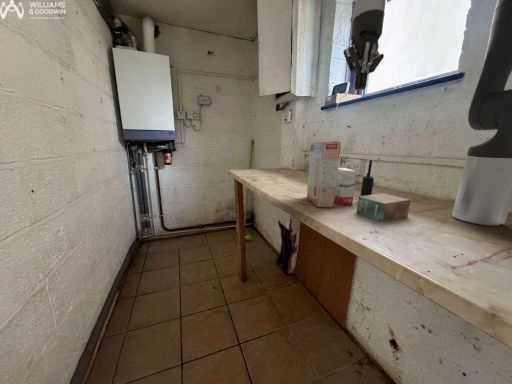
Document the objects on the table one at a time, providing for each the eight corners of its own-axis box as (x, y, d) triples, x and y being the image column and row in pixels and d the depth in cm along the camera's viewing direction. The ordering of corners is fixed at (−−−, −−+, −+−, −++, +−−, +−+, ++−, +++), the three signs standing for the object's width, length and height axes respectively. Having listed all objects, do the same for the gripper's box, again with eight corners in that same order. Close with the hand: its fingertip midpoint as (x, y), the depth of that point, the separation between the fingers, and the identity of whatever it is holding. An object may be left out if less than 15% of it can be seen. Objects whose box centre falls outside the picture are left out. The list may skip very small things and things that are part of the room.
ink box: (353, 205, 69) (357, 170, 66) (338, 204, 69) (342, 170, 66) (343, 198, 77) (346, 167, 74) (330, 198, 77) (333, 167, 75)
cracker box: (335, 208, 65) (342, 141, 60) (316, 208, 65) (321, 141, 60) (321, 197, 79) (326, 141, 74) (306, 196, 79) (310, 141, 74)
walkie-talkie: (359, 200, 75) (365, 159, 71) (369, 201, 73) (376, 159, 70) (359, 203, 70) (365, 160, 67) (370, 205, 69) (377, 160, 65)
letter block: (356, 212, 62) (381, 208, 66) (381, 221, 54) (407, 216, 59) (358, 196, 60) (383, 193, 65) (384, 203, 53) (410, 199, 57)
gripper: (373, 29, 59) (364, 94, 63) (338, 18, 54) (331, 90, 58) (399, 15, 52) (388, 89, 56) (362, 0, 47) (353, 83, 51)
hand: (359, 89), depth 57 cm, fingers closed
